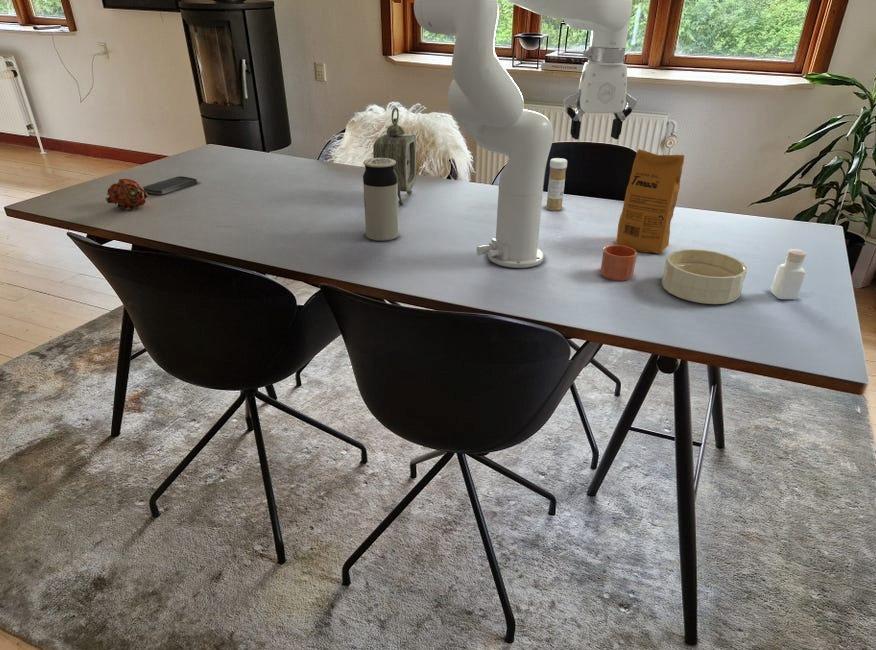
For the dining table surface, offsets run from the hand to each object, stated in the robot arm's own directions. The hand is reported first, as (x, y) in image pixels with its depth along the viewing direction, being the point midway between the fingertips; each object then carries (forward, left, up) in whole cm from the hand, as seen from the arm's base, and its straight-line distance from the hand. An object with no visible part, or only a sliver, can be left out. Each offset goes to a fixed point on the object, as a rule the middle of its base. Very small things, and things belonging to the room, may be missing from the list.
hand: (594, 138), depth 145 cm
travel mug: (-45, +22, -24) cm, 55 cm away
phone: (-84, +89, -23) cm, 124 cm away
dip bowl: (-10, -23, -23) cm, 34 cm away
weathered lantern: (-29, +48, -24) cm, 61 cm away
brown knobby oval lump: (-97, +73, -24) cm, 123 cm away
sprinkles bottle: (+7, +21, -24) cm, 32 cm away
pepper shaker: (+13, -47, -24) cm, 54 cm away
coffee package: (+8, -12, -24) cm, 28 cm away
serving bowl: (0, -37, -23) cm, 44 cm away
